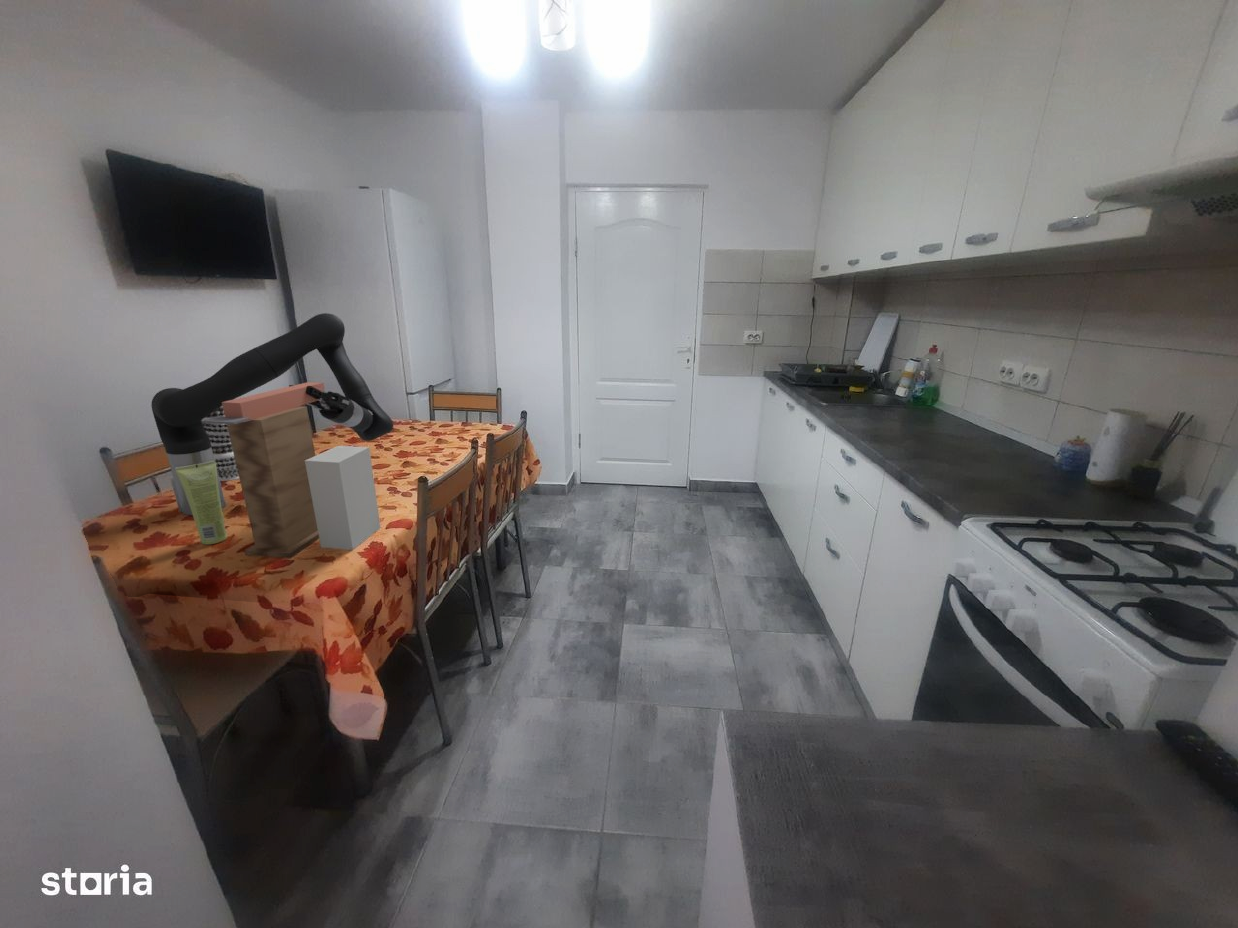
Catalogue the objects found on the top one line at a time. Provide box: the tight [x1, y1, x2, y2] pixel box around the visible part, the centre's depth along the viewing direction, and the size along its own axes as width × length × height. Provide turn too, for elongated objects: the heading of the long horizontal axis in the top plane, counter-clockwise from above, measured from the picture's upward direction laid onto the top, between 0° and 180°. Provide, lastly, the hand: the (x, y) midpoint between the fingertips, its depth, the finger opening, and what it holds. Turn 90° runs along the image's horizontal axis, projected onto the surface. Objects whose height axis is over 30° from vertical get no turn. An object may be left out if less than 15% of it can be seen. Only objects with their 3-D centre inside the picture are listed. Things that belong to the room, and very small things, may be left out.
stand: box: [227, 406, 320, 559], centre depth 115 cm, size 11×17×32 cm, turn 175°
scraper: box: [201, 381, 326, 424], centre depth 111 cm, size 7×30×4 cm, turn 175°
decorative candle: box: [202, 406, 240, 482], centre depth 155 cm, size 9×9×25 cm
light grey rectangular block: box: [305, 445, 381, 551], centre depth 118 cm, size 8×12×22 cm, turn 175°
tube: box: [175, 461, 228, 545], centre depth 116 cm, size 6×5×20 cm
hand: (298, 389), depth 119 cm, fingers closed on scraper, 4 cm apart
